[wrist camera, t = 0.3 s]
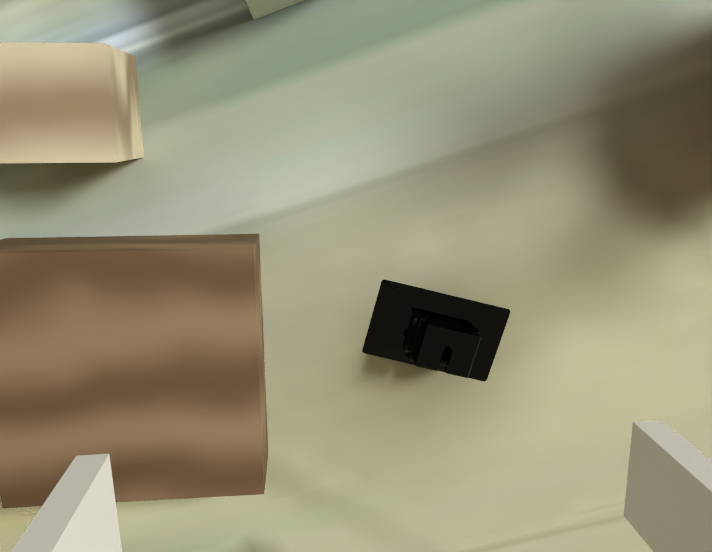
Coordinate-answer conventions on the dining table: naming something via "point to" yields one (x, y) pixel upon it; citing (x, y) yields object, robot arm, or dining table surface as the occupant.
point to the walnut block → (133, 364)
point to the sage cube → (268, 6)
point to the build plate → (435, 330)
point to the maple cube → (68, 104)
